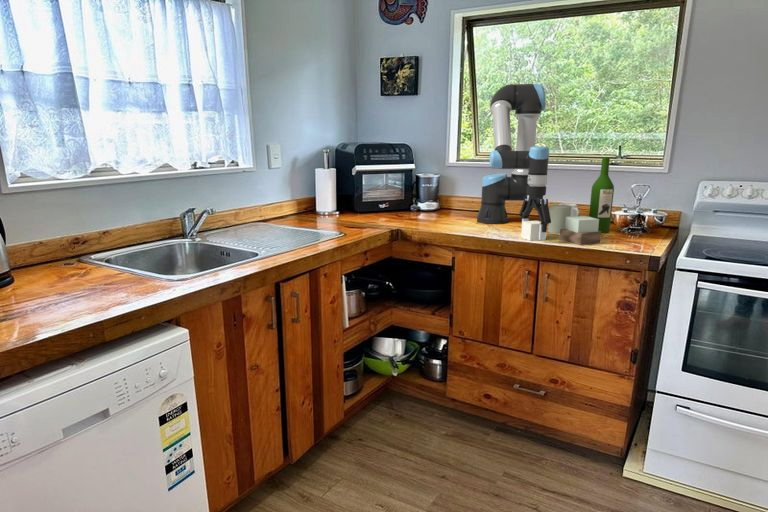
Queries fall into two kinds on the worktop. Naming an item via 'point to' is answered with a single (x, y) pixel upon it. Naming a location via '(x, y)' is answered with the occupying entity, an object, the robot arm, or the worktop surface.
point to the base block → (580, 237)
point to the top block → (581, 224)
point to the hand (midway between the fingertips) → (533, 236)
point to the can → (558, 217)
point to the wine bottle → (602, 198)
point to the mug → (572, 208)
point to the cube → (530, 230)
